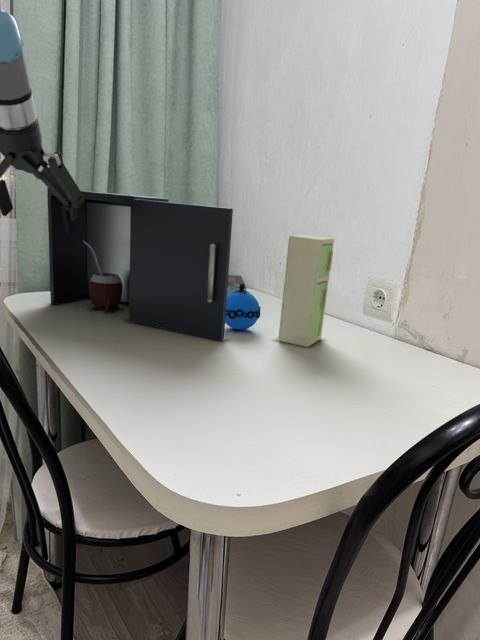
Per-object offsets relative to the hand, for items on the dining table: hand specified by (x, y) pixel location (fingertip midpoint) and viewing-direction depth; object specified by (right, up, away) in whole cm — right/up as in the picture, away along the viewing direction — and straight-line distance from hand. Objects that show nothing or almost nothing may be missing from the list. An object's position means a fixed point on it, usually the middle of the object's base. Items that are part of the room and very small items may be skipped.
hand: (39, 221), depth 101 cm
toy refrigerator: (+52, -24, +3) cm, 58 cm away
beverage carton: (+35, -13, +34) cm, 51 cm away
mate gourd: (+8, -17, +15) cm, 24 cm away
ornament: (+39, -22, +7) cm, 45 cm away
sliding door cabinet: (+18, -18, +11) cm, 28 cm away
